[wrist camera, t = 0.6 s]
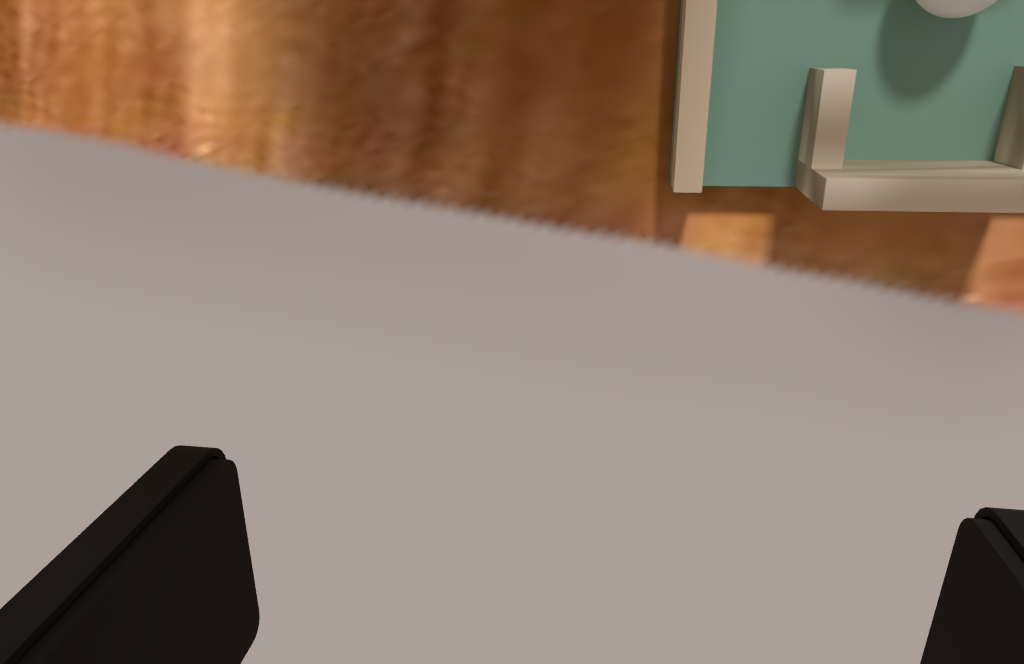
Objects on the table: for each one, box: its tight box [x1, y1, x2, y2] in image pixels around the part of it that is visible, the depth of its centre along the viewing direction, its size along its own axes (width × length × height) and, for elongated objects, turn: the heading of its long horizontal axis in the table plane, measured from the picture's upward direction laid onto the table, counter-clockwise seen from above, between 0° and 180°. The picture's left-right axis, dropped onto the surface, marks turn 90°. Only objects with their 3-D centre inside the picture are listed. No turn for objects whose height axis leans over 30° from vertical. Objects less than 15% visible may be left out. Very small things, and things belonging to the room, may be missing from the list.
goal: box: [795, 66, 1024, 213], centre depth 29 cm, size 5×9×5 cm, turn 91°
